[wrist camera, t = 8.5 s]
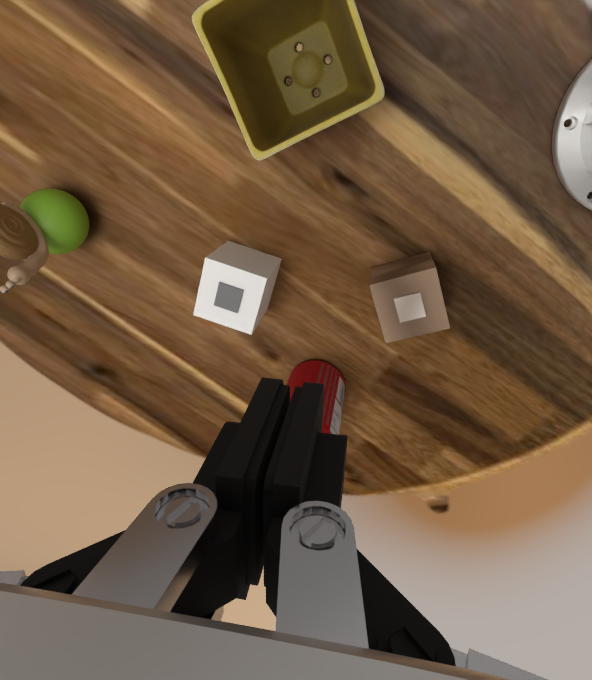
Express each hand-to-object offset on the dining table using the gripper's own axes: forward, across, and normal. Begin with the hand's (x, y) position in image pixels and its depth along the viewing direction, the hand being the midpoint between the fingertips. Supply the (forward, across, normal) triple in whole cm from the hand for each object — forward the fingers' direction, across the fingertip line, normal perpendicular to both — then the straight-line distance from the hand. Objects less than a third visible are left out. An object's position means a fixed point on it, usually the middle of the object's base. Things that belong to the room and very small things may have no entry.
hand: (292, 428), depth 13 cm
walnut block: (+29, -5, +5) cm, 30 cm away
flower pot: (+29, +4, -11) cm, 32 cm away
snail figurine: (+29, +25, +1) cm, 39 cm away
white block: (+29, +9, +5) cm, 31 cm away
